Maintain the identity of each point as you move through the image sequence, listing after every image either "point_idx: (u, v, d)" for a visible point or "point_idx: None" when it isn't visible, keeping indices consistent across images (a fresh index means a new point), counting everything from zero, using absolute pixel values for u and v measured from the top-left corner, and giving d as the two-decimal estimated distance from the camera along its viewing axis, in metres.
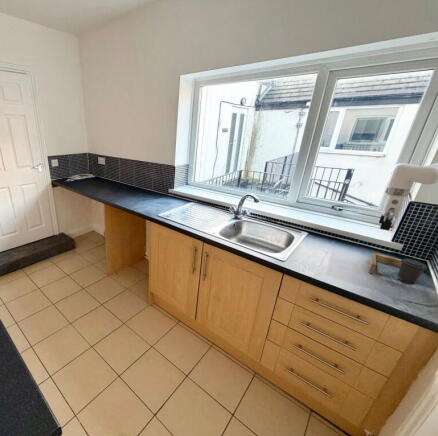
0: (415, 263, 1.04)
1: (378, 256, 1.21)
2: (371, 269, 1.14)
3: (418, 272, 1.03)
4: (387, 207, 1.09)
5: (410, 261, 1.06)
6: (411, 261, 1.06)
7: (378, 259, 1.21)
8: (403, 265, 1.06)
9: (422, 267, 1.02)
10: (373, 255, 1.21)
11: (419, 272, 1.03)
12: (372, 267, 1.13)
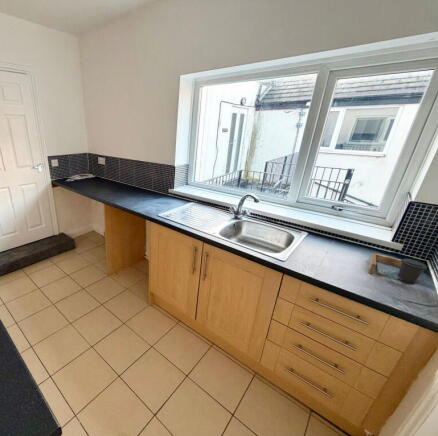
0: (415, 263, 1.04)
1: (378, 256, 1.21)
2: (371, 269, 1.14)
3: (418, 272, 1.03)
4: None
5: (410, 261, 1.06)
6: (411, 261, 1.06)
7: (378, 259, 1.21)
8: (403, 265, 1.06)
9: (422, 267, 1.02)
10: (373, 255, 1.21)
11: (419, 272, 1.03)
12: (372, 267, 1.13)
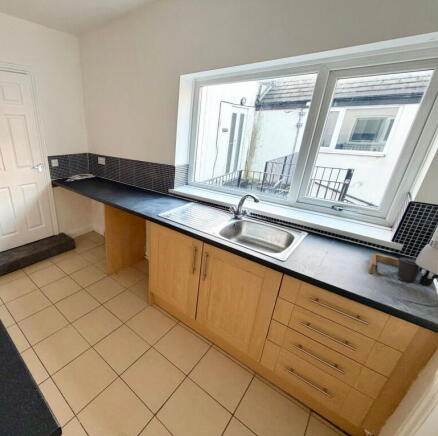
0: (412, 261, 1.05)
1: (378, 256, 1.21)
2: (371, 269, 1.14)
3: (416, 269, 1.04)
4: None
5: (407, 259, 1.07)
6: (408, 259, 1.07)
7: (378, 259, 1.21)
8: (401, 263, 1.07)
9: None
10: (373, 255, 1.21)
11: (417, 269, 1.04)
12: (372, 267, 1.13)
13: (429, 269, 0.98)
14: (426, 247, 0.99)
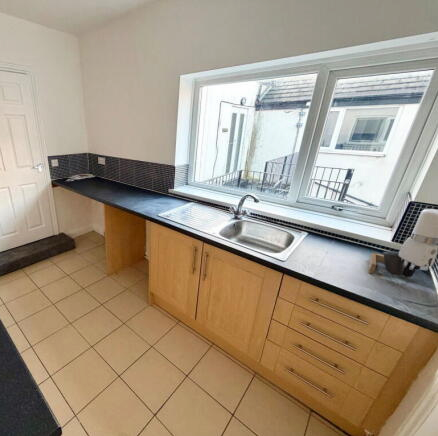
0: (394, 252, 1.12)
1: (378, 256, 1.21)
2: (371, 269, 1.14)
3: (400, 259, 1.09)
4: (426, 258, 0.99)
5: (390, 252, 1.13)
6: (391, 252, 1.13)
7: (378, 259, 1.21)
8: (385, 256, 1.13)
9: None
10: (373, 255, 1.21)
11: None
12: (372, 267, 1.13)
13: (410, 260, 1.04)
14: (408, 240, 1.05)
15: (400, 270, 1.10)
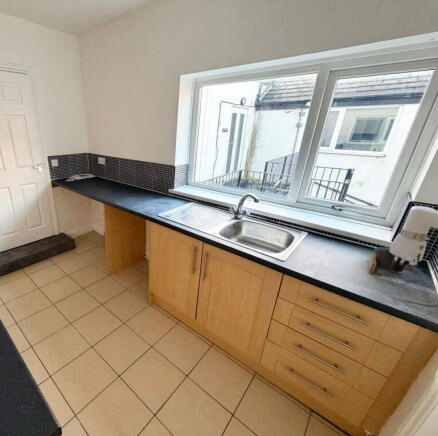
0: (385, 248, 1.15)
1: None
2: (371, 269, 1.14)
3: None
4: (415, 253, 1.03)
5: (381, 248, 1.17)
6: (382, 248, 1.17)
7: None
8: (376, 252, 1.17)
9: None
10: (373, 255, 1.21)
11: None
12: (372, 267, 1.13)
13: (400, 256, 1.08)
14: (398, 236, 1.09)
15: (391, 265, 1.14)
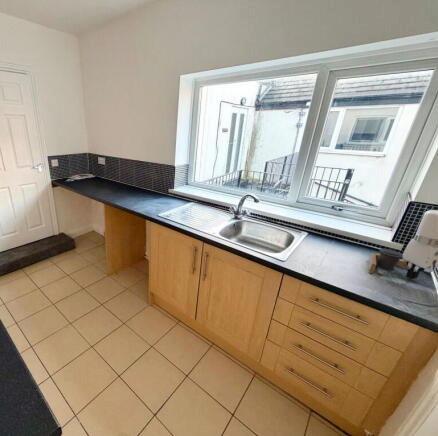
0: (392, 252, 1.13)
1: (378, 256, 1.21)
2: (371, 269, 1.14)
3: (395, 260, 1.12)
4: (430, 260, 0.98)
5: (387, 251, 1.14)
6: (388, 251, 1.15)
7: None
8: (381, 255, 1.15)
9: (398, 256, 1.11)
10: (373, 255, 1.21)
11: (396, 260, 1.12)
12: (372, 267, 1.13)
13: (415, 262, 1.03)
14: (411, 241, 1.04)
15: (391, 269, 1.14)
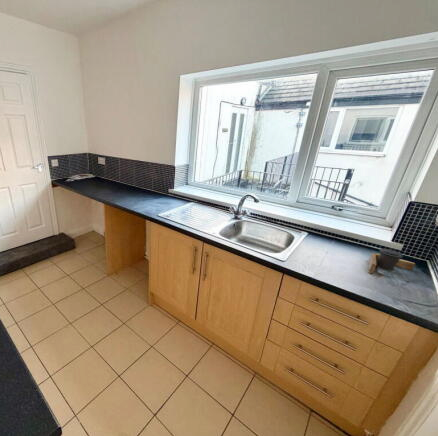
0: (392, 252, 1.13)
1: (378, 256, 1.21)
2: (371, 269, 1.14)
3: (395, 260, 1.12)
4: None
5: (387, 251, 1.15)
6: (388, 251, 1.15)
7: None
8: (381, 255, 1.15)
9: (398, 256, 1.11)
10: (373, 255, 1.21)
11: (396, 260, 1.12)
12: (372, 267, 1.13)
13: None
14: None
15: (391, 269, 1.14)
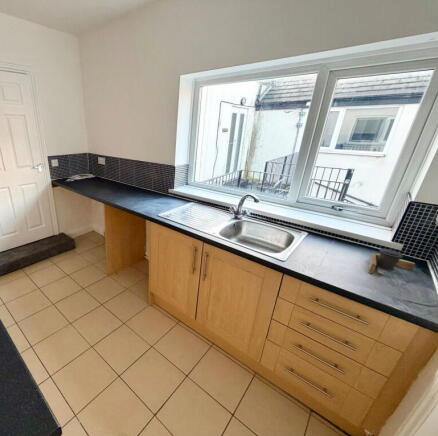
0: (392, 252, 1.13)
1: (378, 256, 1.21)
2: (371, 269, 1.14)
3: (395, 260, 1.12)
4: None
5: (387, 251, 1.15)
6: (388, 251, 1.15)
7: None
8: (381, 255, 1.15)
9: (398, 256, 1.11)
10: (373, 255, 1.21)
11: (396, 260, 1.12)
12: (372, 267, 1.13)
13: None
14: None
15: (391, 269, 1.14)
